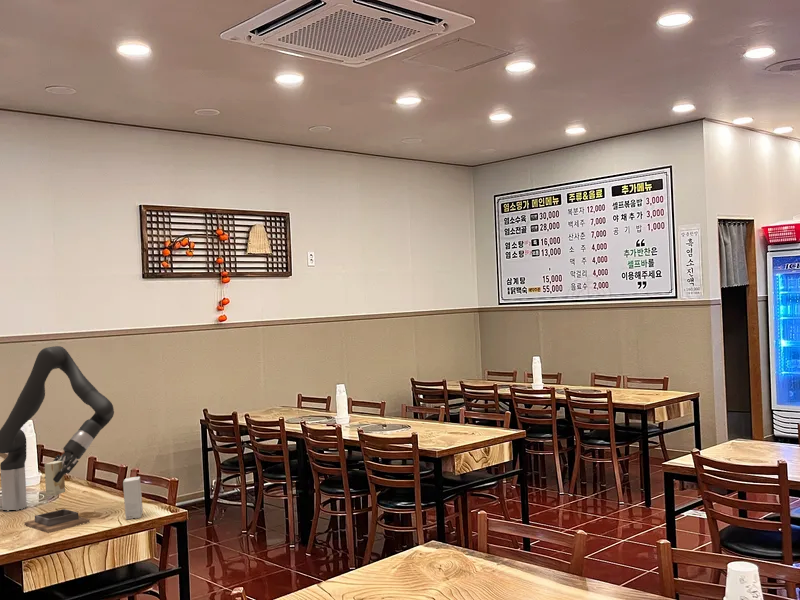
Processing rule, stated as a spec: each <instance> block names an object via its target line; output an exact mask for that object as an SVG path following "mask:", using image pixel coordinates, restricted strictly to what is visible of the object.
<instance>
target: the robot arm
mask: <svg viewBox="0 0 800 600" xmlns="http://www.w3.org/2000/svg"><path fill="white" fill-rule="evenodd" d="M57 369H59V370H60V371H61V372H63V373H64V374H65V376H66V377H67V378H68V379H69V382H70V386H71V388H72V390H73V392H74V393H75V395H76V396H77V397H78V398H79V399H80V400H81V401H82V402H83V403H84V404H85V405H87V406H89V407H90V408H91V409H92V410H93V411H94V414H93V415H92V416H91V417H90V418H89V419H86V420H85V421H84V422H83V423H82V425H81V426H80V427H79V428H78V430H77V431H76V432H75V433H74V434H72V437H71V438H70V439H69V440H68V441H67V443H66V444H65V445H64V446H63V452H64V453H63V454H61V455H60V454H57V455H56V456H55V458H54V459H53V460H52V462H53V461H62V464H61V469H60V472H58V473H57V474H56V476H55V477H54V478H53V480H54V481H55V482H57V483H58V482H59V481H60V479H61V478H62V477H63V475H64V476H65V475H68V474H70V473H71V472H72V470H73V469H74V468H75V466H76V465H78V463H79V460H80V459H81V458H82V457H83V455H84V454H85V453H86V451H87V450H88V449H89V447H90V446H91V445H92V443H93V441H94V440H95V438H96V437H97V436H98V434H99V433H100V431H101V430H102V429H104V427H106V426H107V425H108V424H109V423H110V422H111V420H112V418H113V417H114V415H115V411H114V410H115V409H114V405H113V404H112V401H111V400H110V399H108V398H107V397H106V396H105V395H103V394H102V393H101V392H100V391H98V389H97V388H96V387H95V386H94V385H93V384H92V383H91V382H90V381H89V379H87V377H86V376H85V375H84V374H83V372H82V371H81V369H80V368H79V366H78V365H77V363H76V361H74V359H73V358H72V356H71V354H70V353H69V352H68V350H67V349H66V348H65V347H63V346H60V345H55V346H49V347H48V346H47V347H45V348H43V349H41V350H40V351H39V352H38V354H37V356H36V358H35V361H34V363H33V366H32V369H31V370H30V371H31V372H30V374H29V376H28V378H27V380H26V382H25V384H24V387H23V388H22V390H21V392H20V394H19V395H18V398H17V400H16V402H15V403H14V405H13V407H12V409H11V411H10V414H9V415H8V417H7V418H6V421H5V422H4V424H3V425H2V426H1V428H0V454H7V456H6V457H5V459H3V460H2V461H1V462H0V486H1V504H2V505H1V506H2V511H3V510H16V511H20V510H19V509H21V510H24V509H26V508H27V507H28V506H27V505H28V503H27V501H28V500H27V486H26V485H27V483H26V482H27V481H26V461H27V437H26V433H25V432H24V431H23V430H22V427H23V426H24V425H25V424H27V423H28V422H29V421H30V420H31V419H32V418H33V417H34V416H35V415H36V413H37V412H38V411H39V409H40V408H41V406H42V403H43V402H44V400H45V396H46V387H45V385H46V381H47V379H48V377H49V375H50V373H51V372H52V371H53V370H57ZM43 478H44V479H45V476H44V477H43ZM25 507H26V508H25ZM23 508H24V509H23Z"/></svg>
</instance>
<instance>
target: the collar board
mask: <svg viewBox="0 0 800 600" xmlns="http://www.w3.org/2000/svg"><path fill="white" fill-rule="evenodd" d="M87 522H89V523H90V522H91V521H90V519H89V518H87V517H82V516H79V512H77V511H74V510H70V509H66V508H62V509H58V510H54V511H48V512H46V513H41V514H36V515H34V519H32V520H27V521H24V526H25V525H26V526H25V527H28V526H29V528H31V527H32V529H35V530H38V531H42V532H45V533H47V532H48V534H50V533H54V532H56V531H57V532H58V531H60V530H65V529H70V528H74V527H77V526H81V525H84V524H83V523H85V524H88V523H87ZM80 524H81V525H80ZM76 525H77V526H76ZM53 531H54V532H53ZM49 532H50V533H49Z"/></svg>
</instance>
